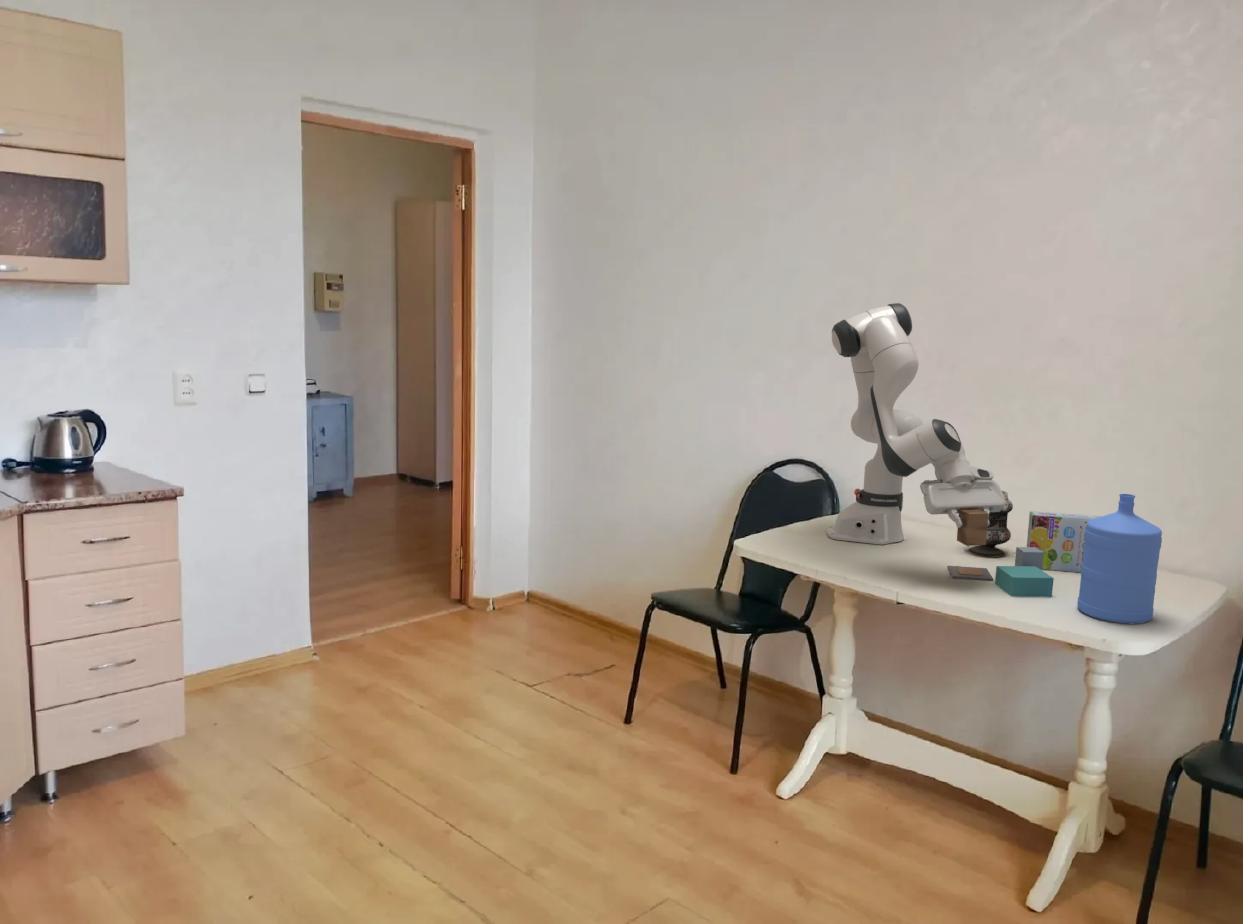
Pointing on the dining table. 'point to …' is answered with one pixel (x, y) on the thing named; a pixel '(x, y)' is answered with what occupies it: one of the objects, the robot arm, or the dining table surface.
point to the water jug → (1120, 566)
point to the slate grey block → (1029, 557)
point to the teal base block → (1024, 581)
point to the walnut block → (973, 527)
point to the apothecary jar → (995, 532)
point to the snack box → (1059, 539)
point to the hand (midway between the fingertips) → (973, 526)
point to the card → (970, 573)
